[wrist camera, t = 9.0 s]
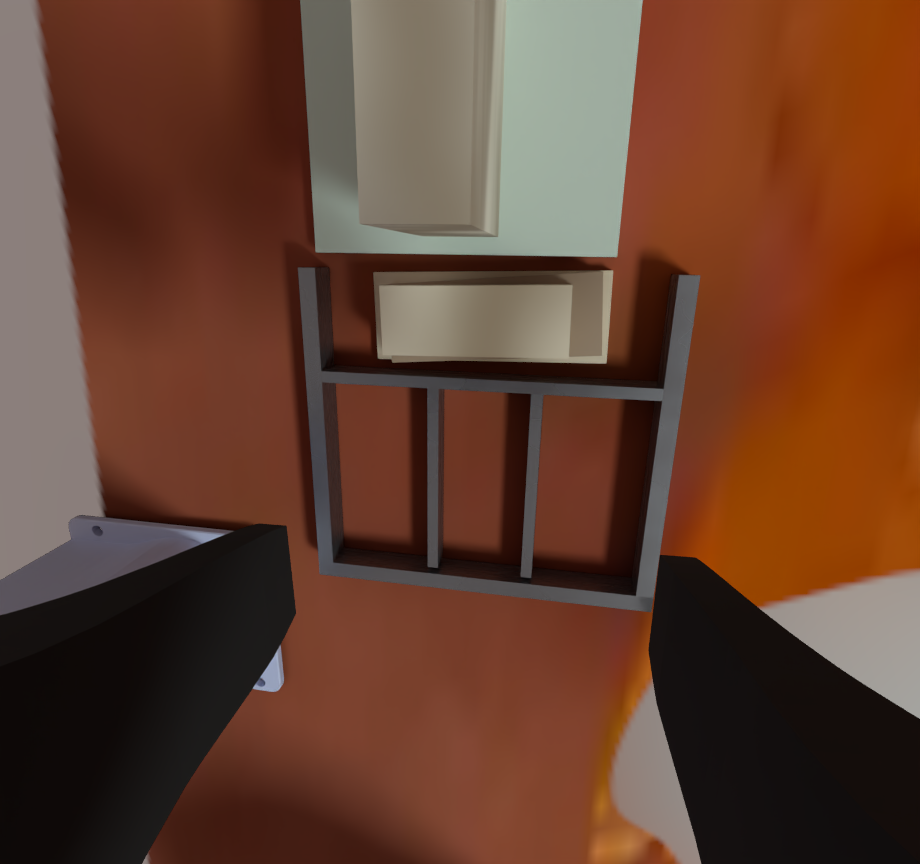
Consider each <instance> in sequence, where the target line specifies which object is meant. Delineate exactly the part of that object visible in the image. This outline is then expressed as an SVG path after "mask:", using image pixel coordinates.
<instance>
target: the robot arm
mask: <svg viewBox="0 0 920 864" xmlns="http://www.w3.org/2000/svg"><path fill="white" fill-rule="evenodd" d="M100 528H101V529H102V530H101V529H100ZM69 531H70V535H71V540H70V541H68V542H66V543H64V544H63V545H61V546H59V547H57V548H56V549H54V550H52V551H50V552H49V553H47V554H45V555H44V556H42V557H40V558H38V559H36V560H35V561H33V562H31V563H29V564H28V565H26V566H24V567H22V568H21V569H19V570H17V571H16V572H14V573H12V574H10V575H8V576H7V577H5V578H3V579H1V580H0V864H142V863H143V861H144V859H145V857H146V855H147V853H148V851H149V850H150V848H151V846H152V844H153V842H154V841H155V839H156V837H157V835H158V834H159V832H160V830H161V828H162V827H163V825H164V823H165V821H166V820H167V818H168V816H169V814H170V813H171V811H172V809H173V807H174V806H175V804H176V802H177V800H178V799H179V797H180V795H181V793H182V792H183V790H184V788H185V786H186V785H187V783H188V782H189V780H190V779H191V777H192V776H193V774H194V772H195V771H196V769H197V768H198V766H199V765H200V763H201V762H202V760H203V759H204V757H205V756H206V754H207V753H208V752H209V750H210V749H211V747H212V746H213V744H214V743H215V742H216V740H217V739H218V737H219V736H220V734H221V733H222V732H223V730H224V729H225V727H226V726H227V724H228V723H229V722H230V720H231V719H232V717H233V716H234V714H235V713H236V712H237V710H238V709H239V707H240V706H241V704H242V703H243V702H244V700H245V699H246V697H247V696H248V694H249V693H250V692H251V690H252V689H258V690H264V691H271V692H276V691H278V690H279V689H280V688H281V686H282V684H283V683H284V674H283V665H282V655H281V645H280V644H281V643H282V641H283V639H284V637H285V635H286V633H287V631H288V629H289V627H290V625H291V622H292V620H293V618H294V616H295V614H296V609H295V599H294V590H293V581H292V572H291V563H290V554H289V545H288V536H287V527H286V526H283V525H270V524H255V525H252V526H248V527H245V528H242V529H239V530H236V531H230V530H221V529H211V528H201V527H192V526H182V525H172V524H163V523H153V522H143V521H134V520H124V519H114V518H105V517H95V516H85V515H79V516H77V517H75V518H73V519H71V520H70V522H69ZM649 657H650V664H651V671H652V677H653V684H654V690H655V696H656V701H657V706H658V710H659V713H660V717H661V721H662V724H663V728H664V731H665V735H666V738H667V742H668V745H669V749H670V752H671V756H672V759H673V763H674V766H675V770H676V773H677V776H678V780H679V784H680V787H681V791H682V794H683V797H684V801H685V805H686V808H687V811H688V815H689V818H690V822H691V825H692V829H693V832H694V836H695V839H696V843H697V847H698V851H699V855H700V860H701V864H920V719H919V718H917V717H916V716H914V715H912V714H911V713H909V712H907V711H906V710H904V709H903V708H901V707H899V706H898V705H896V704H894V703H893V702H891V701H890V700H888V699H886V698H885V697H883V696H882V695H880V694H878V693H877V692H875V691H874V690H872V689H870V688H869V687H867V686H866V685H864V684H862V683H861V682H859V681H858V680H856V679H855V678H853V677H852V676H850V675H849V674H847V673H846V672H844V671H843V670H841V669H840V668H838V667H837V666H835V665H834V664H833V663H831V662H830V661H828V660H827V659H825V658H824V657H823V656H821V655H820V654H819V653H817V652H816V651H814V650H813V649H812V648H810V647H809V646H807V645H806V644H805V643H803V642H802V641H801V640H799V639H798V638H797V637H795V636H794V635H793V634H791V633H790V632H789V631H787V630H786V629H785V628H783V627H782V626H781V625H779V624H778V623H777V622H776V621H774V620H773V619H772V618H770V617H769V616H768V615H767V614H765V613H764V612H763V611H762V610H760V609H759V608H758V607H757V606H755V605H754V604H753V603H752V602H750V601H749V600H748V599H747V598H746V597H744V596H743V595H742V594H741V593H739V592H738V591H737V590H736V589H735V588H733V587H732V586H731V585H730V584H729V583H727V582H726V581H725V580H724V579H723V578H721V577H720V576H719V575H718V574H716V573H715V572H714V571H713V570H712V569H710V568H709V567H708V566H707V565H705V564H704V563H703V562H701V561H700V560H698V559H697V558H693V557H680V556H667V555H660V559H659V568H658V576H657V584H656V592H655V601H654V609H653V617H652V626H651V634H650V642H649ZM261 678H262V679H264V680H262V679H261Z"/></svg>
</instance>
